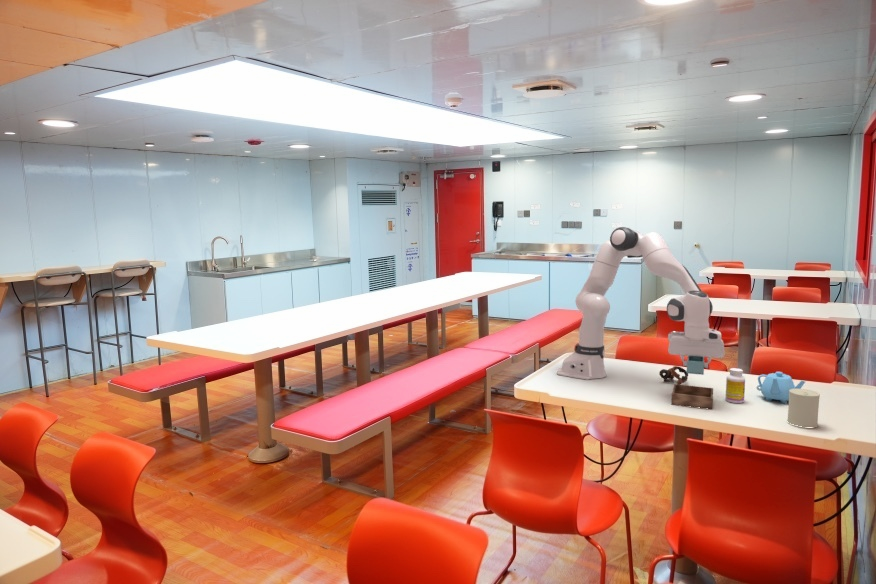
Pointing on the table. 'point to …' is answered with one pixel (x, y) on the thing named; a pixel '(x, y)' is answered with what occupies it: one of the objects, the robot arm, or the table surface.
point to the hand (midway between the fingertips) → (695, 367)
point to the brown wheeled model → (674, 374)
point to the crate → (692, 396)
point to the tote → (695, 365)
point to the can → (803, 407)
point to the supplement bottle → (735, 386)
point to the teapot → (777, 386)
